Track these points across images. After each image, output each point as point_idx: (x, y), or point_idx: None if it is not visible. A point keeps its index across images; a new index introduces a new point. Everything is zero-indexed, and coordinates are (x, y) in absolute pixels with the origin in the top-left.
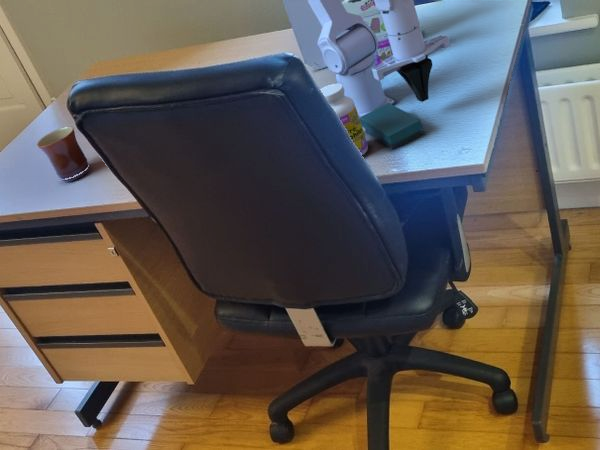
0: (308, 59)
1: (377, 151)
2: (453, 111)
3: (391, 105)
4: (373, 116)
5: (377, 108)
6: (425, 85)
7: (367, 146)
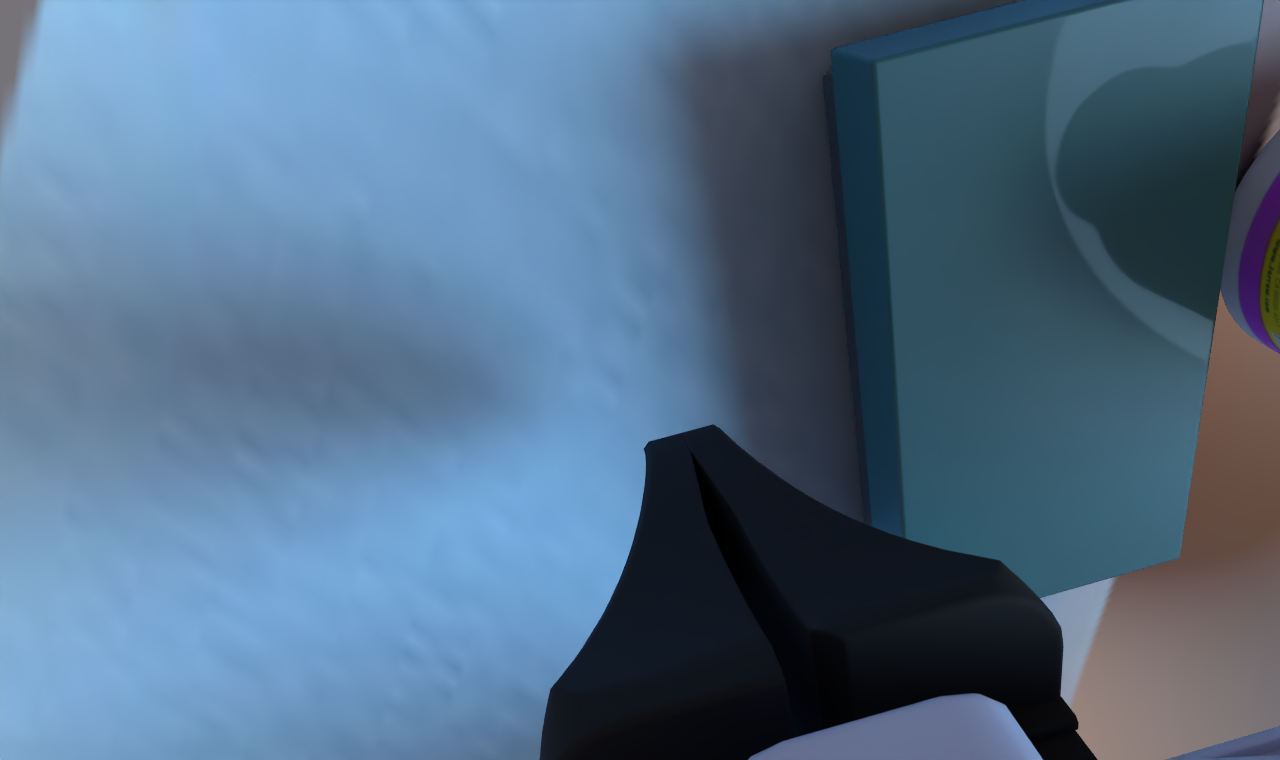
0: None
1: None
2: (447, 305)
3: None
4: (1106, 497)
5: None
6: (679, 514)
7: (1272, 164)
